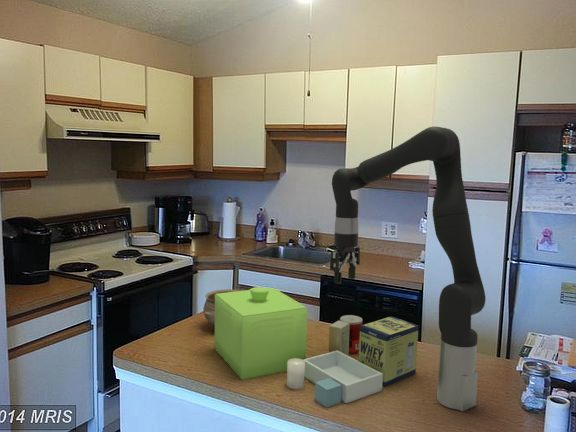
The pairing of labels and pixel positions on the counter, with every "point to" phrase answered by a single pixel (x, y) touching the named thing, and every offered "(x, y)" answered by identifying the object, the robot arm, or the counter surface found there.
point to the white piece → (295, 373)
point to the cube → (328, 392)
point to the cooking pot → (213, 304)
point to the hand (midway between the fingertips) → (344, 281)
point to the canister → (259, 330)
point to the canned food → (353, 332)
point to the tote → (344, 374)
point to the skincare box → (339, 337)
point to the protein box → (389, 348)
